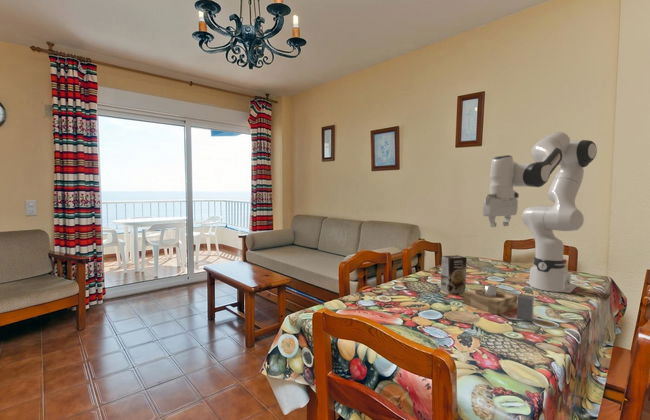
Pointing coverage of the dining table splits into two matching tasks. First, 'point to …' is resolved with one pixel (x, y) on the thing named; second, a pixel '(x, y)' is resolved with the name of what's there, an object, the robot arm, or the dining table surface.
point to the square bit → (525, 307)
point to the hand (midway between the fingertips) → (499, 226)
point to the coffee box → (453, 274)
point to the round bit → (490, 290)
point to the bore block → (490, 301)
